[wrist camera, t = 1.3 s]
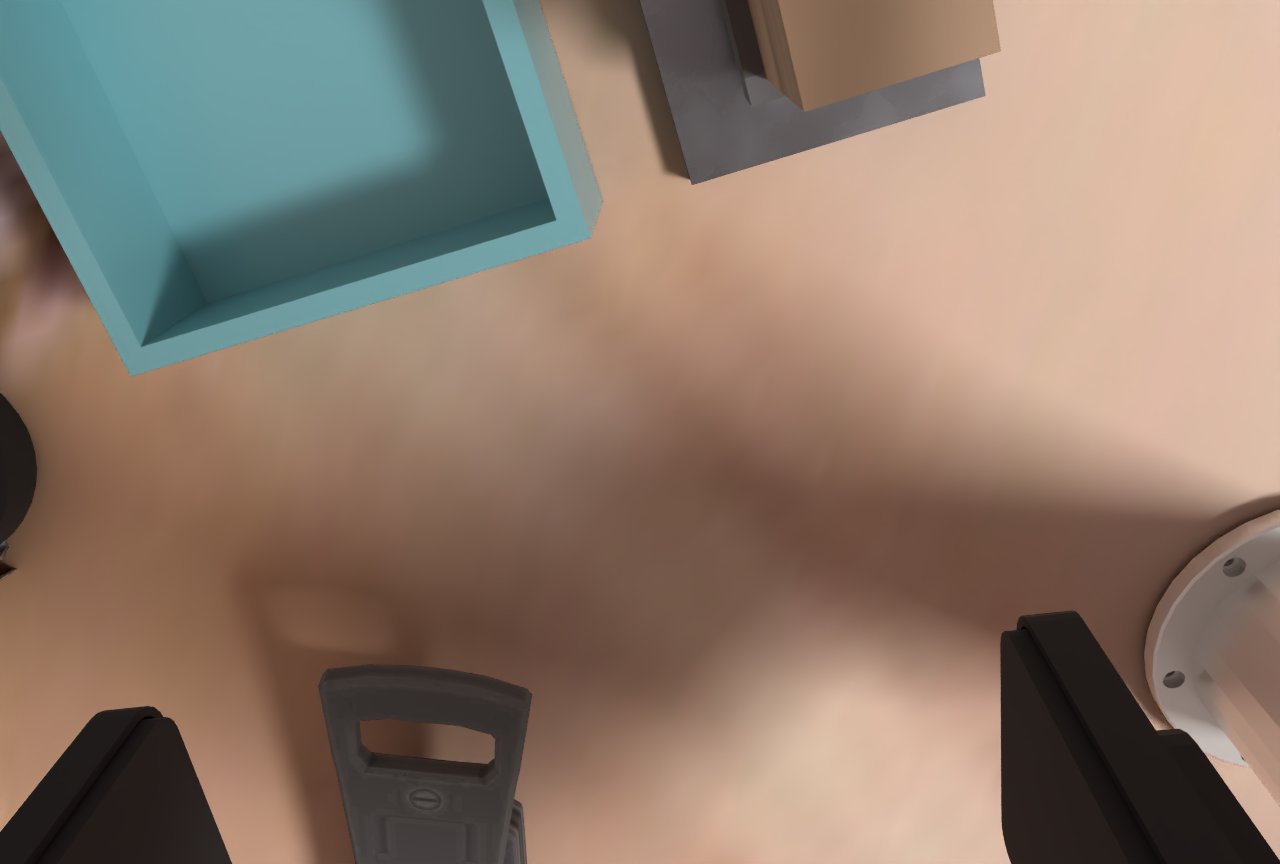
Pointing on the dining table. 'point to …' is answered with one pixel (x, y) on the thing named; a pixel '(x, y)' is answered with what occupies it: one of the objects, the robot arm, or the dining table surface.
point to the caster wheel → (14, 473)
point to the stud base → (752, 135)
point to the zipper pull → (427, 766)
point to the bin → (286, 155)
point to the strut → (850, 44)
